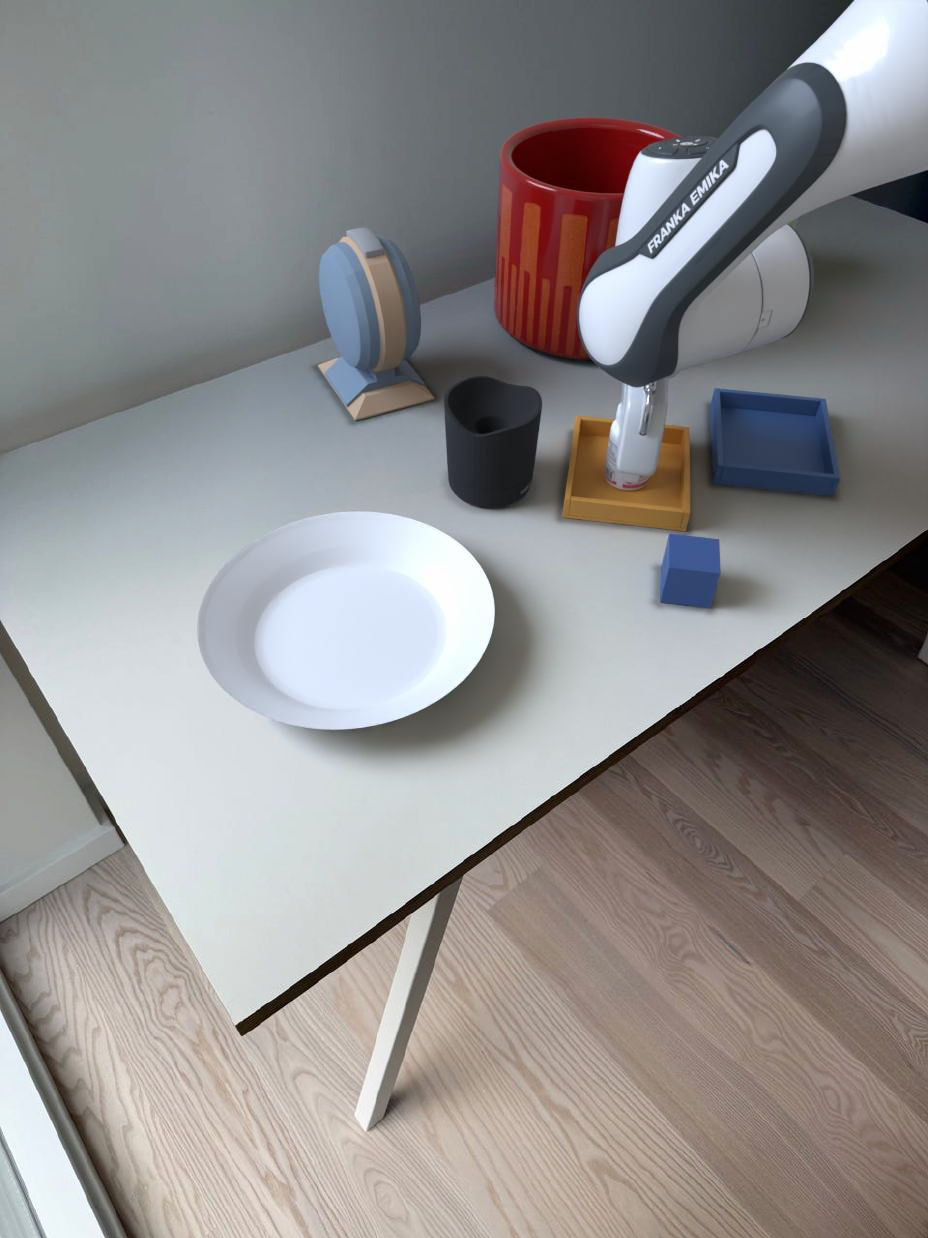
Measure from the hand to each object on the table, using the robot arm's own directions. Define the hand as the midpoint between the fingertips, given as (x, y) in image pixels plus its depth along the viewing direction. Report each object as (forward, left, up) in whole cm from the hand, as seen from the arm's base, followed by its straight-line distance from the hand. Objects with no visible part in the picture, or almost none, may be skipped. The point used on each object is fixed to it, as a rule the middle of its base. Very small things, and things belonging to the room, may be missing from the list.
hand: (631, 454), depth 91 cm
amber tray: (0, 0, -3) cm, 3 cm away
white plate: (+23, +26, -4) cm, 35 cm away
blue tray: (-15, -8, -3) cm, 17 cm away
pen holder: (+14, +3, -4) cm, 15 cm away
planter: (+7, -32, -4) cm, 33 cm away
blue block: (-6, +15, -3) cm, 16 cm away
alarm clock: (+30, -13, -4) cm, 33 cm away
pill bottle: (0, 0, -3) cm, 3 cm away
